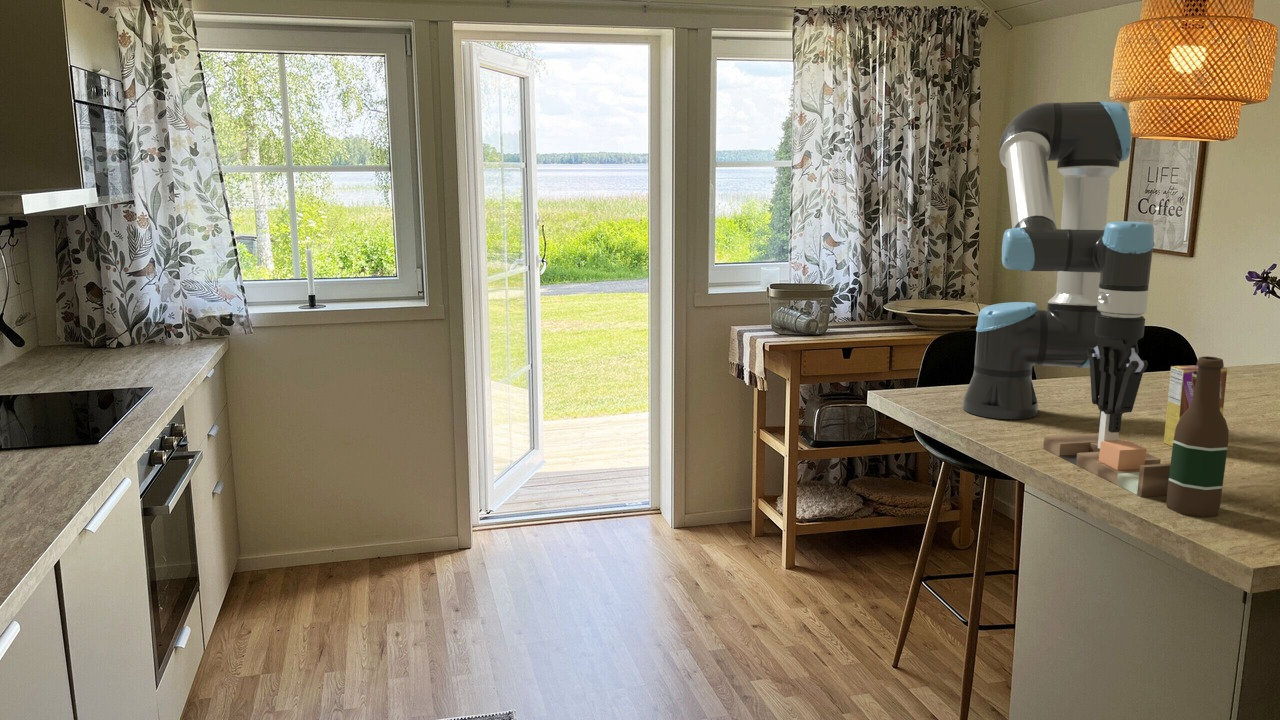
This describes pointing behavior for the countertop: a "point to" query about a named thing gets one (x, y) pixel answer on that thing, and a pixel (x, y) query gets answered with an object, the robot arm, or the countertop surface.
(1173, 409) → the candy box
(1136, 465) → the block
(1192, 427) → the beer bottle
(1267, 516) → the countertop surface
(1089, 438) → the board
